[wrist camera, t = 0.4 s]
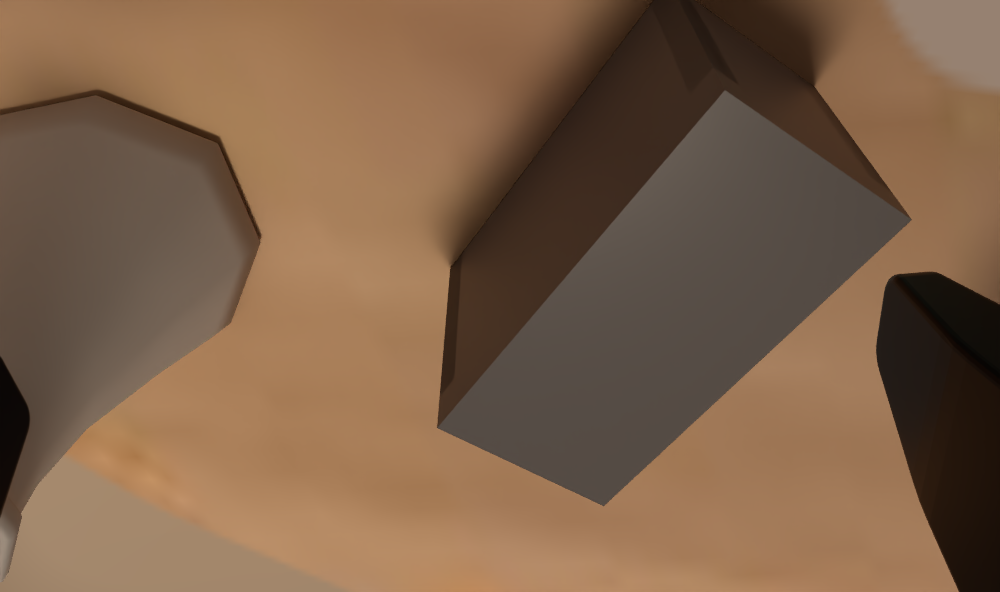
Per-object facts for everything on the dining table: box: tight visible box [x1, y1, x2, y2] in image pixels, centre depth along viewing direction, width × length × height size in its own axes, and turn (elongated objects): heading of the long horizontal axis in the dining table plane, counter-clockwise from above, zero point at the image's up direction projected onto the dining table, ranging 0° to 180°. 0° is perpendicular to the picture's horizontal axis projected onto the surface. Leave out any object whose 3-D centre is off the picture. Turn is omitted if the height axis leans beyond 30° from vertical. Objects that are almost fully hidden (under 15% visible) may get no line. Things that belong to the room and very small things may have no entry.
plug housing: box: [437, 0, 912, 506], centre depth 20 cm, size 4×9×6 cm, turn 147°
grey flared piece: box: [0, 95, 260, 582], centre depth 19 cm, size 7×7×10 cm
